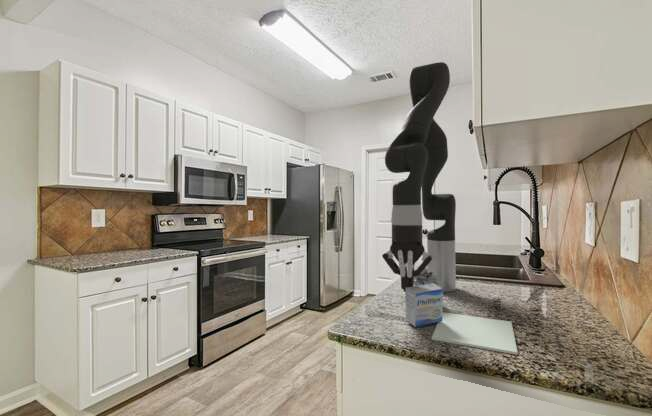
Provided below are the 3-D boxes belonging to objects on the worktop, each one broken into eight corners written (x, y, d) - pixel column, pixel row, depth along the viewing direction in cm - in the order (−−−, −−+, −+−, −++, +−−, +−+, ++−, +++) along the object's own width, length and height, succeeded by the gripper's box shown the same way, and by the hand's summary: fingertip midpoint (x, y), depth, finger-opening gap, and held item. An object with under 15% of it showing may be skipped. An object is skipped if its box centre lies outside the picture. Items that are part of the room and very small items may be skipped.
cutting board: (442, 314, 84) (442, 312, 84) (511, 323, 77) (511, 321, 77) (431, 339, 68) (431, 337, 68) (517, 354, 61) (517, 352, 61)
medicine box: (414, 328, 75) (414, 294, 73) (404, 318, 79) (405, 286, 77) (442, 321, 77) (443, 288, 75) (431, 313, 81) (432, 281, 79)
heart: (445, 301, 94) (438, 261, 95) (440, 309, 86) (431, 266, 87) (412, 302, 99) (405, 264, 100) (404, 310, 91) (396, 269, 92)
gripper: (436, 222, 79) (436, 290, 79) (385, 222, 86) (386, 285, 86) (431, 224, 73) (432, 298, 73) (377, 223, 79) (377, 291, 79)
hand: (407, 291), depth 79 cm, fingers closed
